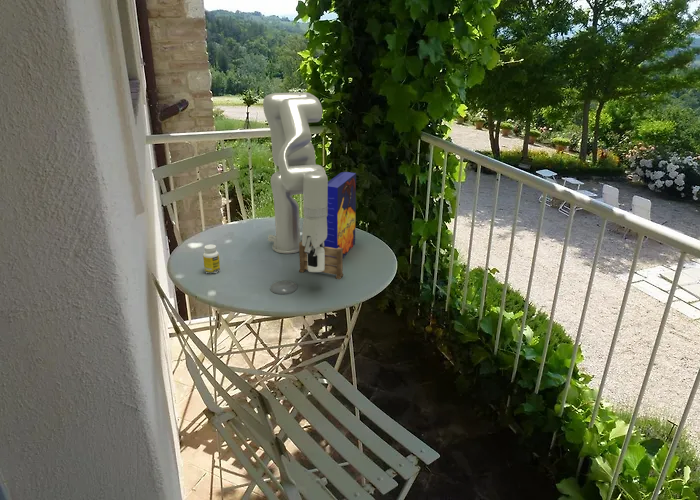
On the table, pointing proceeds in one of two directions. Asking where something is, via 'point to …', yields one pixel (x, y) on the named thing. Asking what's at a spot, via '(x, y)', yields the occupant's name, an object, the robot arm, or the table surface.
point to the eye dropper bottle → (318, 260)
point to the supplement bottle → (211, 259)
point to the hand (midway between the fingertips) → (315, 262)
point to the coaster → (283, 287)
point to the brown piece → (335, 260)
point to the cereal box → (341, 212)
